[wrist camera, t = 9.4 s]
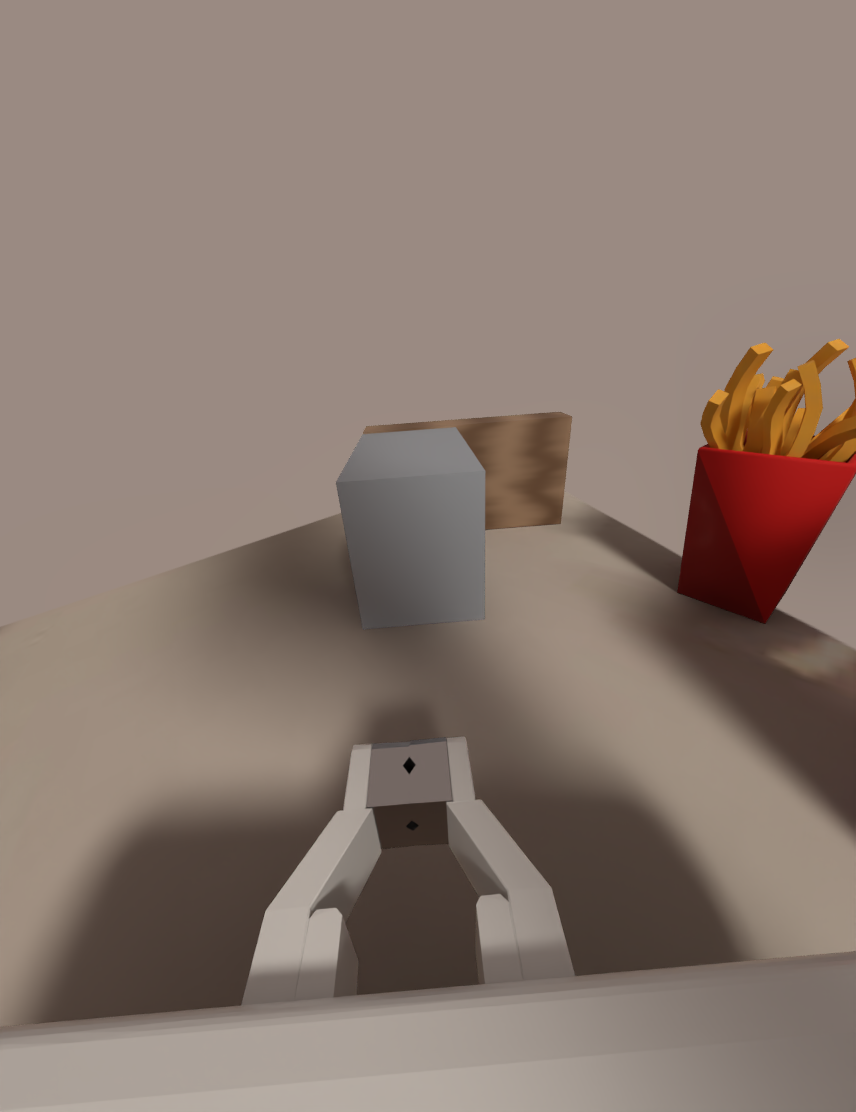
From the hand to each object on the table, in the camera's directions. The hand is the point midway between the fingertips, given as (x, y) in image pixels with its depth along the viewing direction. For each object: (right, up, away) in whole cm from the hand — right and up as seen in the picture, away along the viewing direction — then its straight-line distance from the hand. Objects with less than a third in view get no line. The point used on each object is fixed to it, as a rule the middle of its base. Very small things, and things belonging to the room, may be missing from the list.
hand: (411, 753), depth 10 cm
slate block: (0, +4, +21) cm, 21 cm away
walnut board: (+4, +8, +29) cm, 30 cm away
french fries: (+21, +2, +15) cm, 25 cm away
